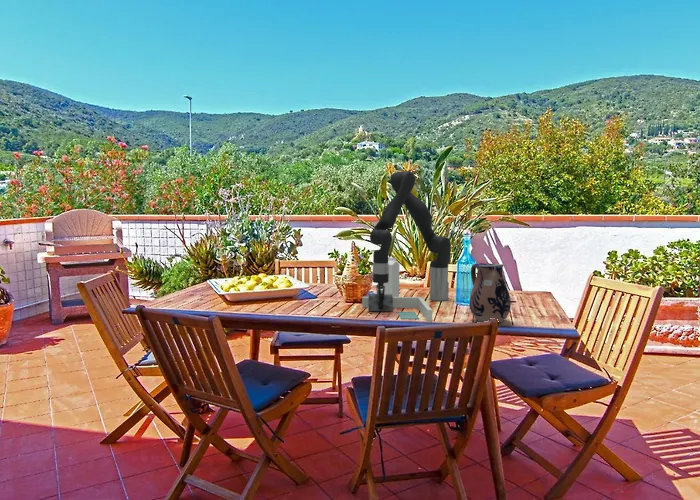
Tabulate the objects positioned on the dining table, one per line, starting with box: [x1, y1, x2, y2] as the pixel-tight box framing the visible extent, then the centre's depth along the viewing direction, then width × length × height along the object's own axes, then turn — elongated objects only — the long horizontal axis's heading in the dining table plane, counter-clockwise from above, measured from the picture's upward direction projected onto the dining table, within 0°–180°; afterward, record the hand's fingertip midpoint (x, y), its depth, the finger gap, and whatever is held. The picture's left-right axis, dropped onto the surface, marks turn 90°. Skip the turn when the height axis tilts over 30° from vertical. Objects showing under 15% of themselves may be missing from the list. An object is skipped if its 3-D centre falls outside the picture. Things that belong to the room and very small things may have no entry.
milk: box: [383, 256, 401, 297], centre depth 286 cm, size 6×6×22 cm
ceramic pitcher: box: [468, 262, 512, 324], centre depth 239 cm, size 18×21×25 cm
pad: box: [397, 311, 420, 320], centre depth 250 cm, size 8×14×1 cm, turn 1°
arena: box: [361, 296, 433, 322], centre depth 253 cm, size 29×30×5 cm
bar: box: [367, 293, 394, 312], centre depth 259 cm, size 11×5×7 cm, turn 91°
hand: (380, 307), depth 259 cm, fingers closed on bar, 5 cm apart
